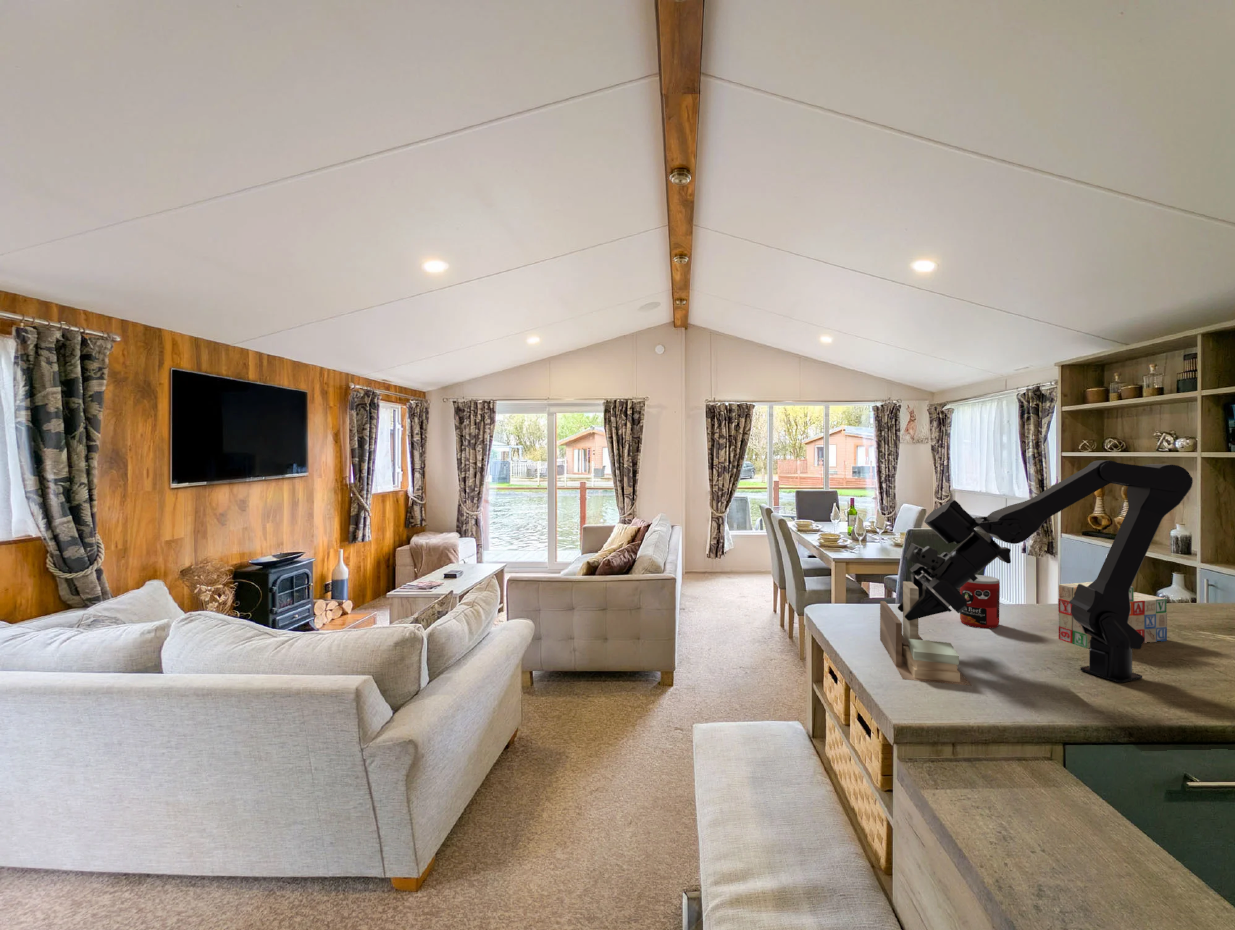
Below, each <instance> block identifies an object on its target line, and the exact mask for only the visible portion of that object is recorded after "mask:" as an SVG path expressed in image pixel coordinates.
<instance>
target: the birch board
mask: <svg viewBox="0 0 1235 930" xmlns="http://www.w3.org/2000/svg"><path fill="white" fill-rule="evenodd" d="M918 599H919V588H918V587H916V586H915V585H914V584H913V583H912V581H902V600H903V612H902V635H903V636H904V638H905V639H906V641H907V642H908V643H909V639H916V640H918V634H919V618H918V619H914V620H910V621H908V620H907V619H906V618H905V615H906V613H907V612H908V611H909V610H910V609H911V607H912V606H913V605H914V604H915V603H916V602H917V601H918Z"/></svg>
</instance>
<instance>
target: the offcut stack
mask: <svg viewBox="0 0 1235 930" xmlns="http://www.w3.org/2000/svg"><path fill="white" fill-rule="evenodd" d="M902 654H903V655H904V662H905V664H906V665H907V667H908V669H909V670H910V672H911V673H912V675H913V676H914V678H920V679H931V680H942V681H953V682H960V673H959V671H960V670H959V669H958V666H959V665H960V655H959V654H958V652H957V651H956V649H955V648H954V646H953V644H952V643H951V642H944V641H938V640H937V641H935V640H924V639H923V640H916V639H909V647H907V646H903V652H902ZM957 669H958V670H959V671H958V670H957Z"/></svg>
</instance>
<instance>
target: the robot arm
mask: <svg viewBox="0 0 1235 930" xmlns="http://www.w3.org/2000/svg"><path fill="white" fill-rule="evenodd" d="M1193 479H1194V478H1193V477H1192V476H1191V474H1190V472H1189V471H1188V470H1187V469H1185V467H1182V466H1180V465H1177V464H1163V463H1162V464H1160V463H1150V464H1149V463H1148V464H1143V465H1137V464H1136V465H1135V464H1130V463H1129V464H1128V463H1122V462H1117V461H1115V460H1110V459H1109V460H1108V459H1107V460H1103V459H1102V460H1101V459H1100V460H1094V461H1092V462H1090V463H1089V464H1088V465H1086V467H1084V468H1082V469H1080V470H1078V471H1077V472H1075V473H1073V474H1072V475H1069V476H1067V477H1066V478H1065V479H1062V480H1061V481H1059V482H1058V483H1056V484H1054V485H1053V486H1051V487H1049V488H1047V489H1046V490H1044V491H1042V492H1040V493H1038V494H1037V495H1035V496H1033V497H1031V498H1029V499H1027V500H1025V501H1021V502H1017V503H1015V504H1014V503H1013V504H1009V505H1008V506H1004V507H1002V508H999V509H997V510H995V511H992V512H990V513H989V514H988V515H987V516H979V517H978V516H975V517H974V516H973V517H972V515H971V514H970V513H968V512H967V511H966V510H965V509H964V508H963V507H962V506H961V504H960V502H958V501H957V500H955V499H949V501H948V502H946V503H944V504H942V505H941V506H939V507H937V508H935V509H933V510H932V511H931V512H930V513H929V514H928V515H927V516H926V517H925V519H924V523H925V524H926V525H927V526H928V527H929V528H930V529H931V531H934V532H935V533H936V534H937V535H938V536H939V537H940V539H942V540H943V541H944V542H945V543H946V544H951V543H954V544H956V545H957V544H958V545H957V546H956V547H955V548H954V549H952V551H951V552H948V551H946V552H945V551H943V552H942V553H941V554H940V555H939V553H938V549H936V548H933V547H931V546H929V545H926V546H925V547H922V546H920V545H917V544H915V543H913V542H911V544H910V545H909V547H908V549H907V551H906V553H905V555H904V558H906V559H907V560H908V561H910V562H912V563H914V565H913V566H911V568H909V570H910V572H911V573H910V578H911V579H910V580H911V582H912V583H913V584H914V585H915V586H916V587H918V588H919V599H918V601H917V602H916V603H915V604H914V605H913V606H912V607H911V609H910V610H909V611H908V612H907V613H906V615H905V618H906V619H907V620H908V621H910V620H914V619H918V620H919V619H920V618H921V619H922V618H926V617H929V616H932V615H933V616H934V615H937V614H942V613H948V612H949V613H950V612H952V610H954V611H955V612H956V613H957V614H960V612H961V611H962V610H963V609H965V608H966V607H967V599H966V598H965V597H963V596H962V595H961V594H960V588H961V587H962V586H963V585H964V584H966V583H967V582H968V581H969V580H972V581H973V582H974V581H975V580H976V579H978V578H977V577H976V576H975V575H979V573H980V572H981V571H983V569H985V568H986V567H987V566H988V565H990V564H991V563H992V562H993V561H994V560H996V559H998V560H1000V561H1001V562H1004V563H1006V564H1008V565H1009V564H1011V562H1012V560H1011V548H1009V547H1006V546H1004V547H1002V546H1001V545H999V544H998V543H997V542H996V541H995V540H994V539H996V540H999V541H1001V542H1004V543H1007V544H1012V545H1016V544H1020V543H1022V542H1023V543H1024V542H1025V541H1027V539H1029V538H1030V537H1031V536H1032V535H1033V534H1035V533H1036V532H1037V531H1039V530H1040V528H1041V527H1042V526H1043V524H1044V523H1045V522H1046V521H1047V520H1048V519H1050V518H1051V517H1052V516H1054V515H1056V514H1058V513H1060V512H1062V511H1063V510H1065V509H1066V508H1069V507H1070V506H1072V505H1074V504H1075V503H1077V502H1079V501H1081V500H1083V499H1085V498H1086V497H1088V496H1091V494H1094V493H1095V492H1097V491H1099V490H1101V489H1102V488H1104V487H1106V486H1108V485H1110V484H1114V485H1117V486H1118V485H1119V486H1125V487H1127V489H1126V496H1127V506H1128V507H1127V512H1126V513H1125V516H1124V518H1123V520H1122V521H1121V524H1120V526H1119V529H1118V530H1117V533H1116V535H1115V538H1114V540H1113V542H1112V544H1111V546H1110V549H1109V550H1108V553H1107V555H1106V557H1105V559H1104V562H1103V564H1102V566H1101V568H1100V571H1099V573H1098V575H1097V576H1096V578H1095V580H1094V581H1092V582H1093V583H1091V584H1090V585H1089V586H1087V587H1086V586H1084V585H1082V584H1078V586H1077V588H1076V592H1075V596H1074V597H1073V599H1072V600H1070V601H1069V603H1070V604H1072V607H1071V614H1072V615H1073V617H1074V619H1075V620H1076V621H1077V622H1078V623H1079V624H1081V626H1082V628H1083V631H1084V633H1086V634H1089V635H1090V636H1092V637H1091V640H1090V648H1089V653H1088V654H1089V659H1088V660H1089V662H1088V663H1089V664H1088V665H1086V666H1081V667H1080V671H1081V672H1085V673H1089V674H1091V675H1093V676H1098V677H1100V678H1104V679H1107V680H1110V681H1113V682H1116V683H1120V684H1121V683H1125V682H1131V681H1136V680H1140V679H1143V675H1142V674H1139V673H1136V672H1133V650H1141V648H1142V646H1143V644H1144V643H1143V642H1144V640H1145V638H1144V637H1143V636H1142V635H1141V634H1139V633H1138V632H1137V631H1136V630H1135V629H1134V628H1133V627H1131V626H1130V625H1129V624H1128V619H1129V615H1130V611H1131V607H1130V598H1129V590H1130V588H1131V587H1133V586H1132V585H1133V583H1134V581H1135V579H1136V578H1137V575H1138V573H1139V570H1140V568H1141V566H1142V563H1143V562H1144V560H1145V558H1146V555H1147V553H1148V551H1149V548H1150V547H1151V544H1152V542H1153V540H1154V537H1155V535H1156V534H1157V531H1158V529H1159V527H1160V525H1161V522H1162V520H1163V519H1164V517H1166V515H1168V514H1169V513H1170V512H1172V511H1173V510H1174V509H1175V508H1176V507H1178V506H1179V505H1180V504H1181V503H1182V501H1183V500H1184V499H1185V497H1186V496H1187V494H1188V493H1189V491H1190V490H1191V489H1192V487H1193V483H1194V480H1193ZM975 529H976V530H978V531H981V532H983V533H986V534H989V536H985V537H983V536H982V535H981V534H980V533H979V532H978V531H976V530H975ZM990 536H991V537H990ZM993 538H994V539H993ZM950 607H951V608H952V609H951V608H950ZM897 609H898V610H899V612H901V613H903V599H902V600H901V602H900V603H899V605H898V606H897Z"/></svg>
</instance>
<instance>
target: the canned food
mask: <svg viewBox="0 0 1235 930" xmlns="http://www.w3.org/2000/svg"><path fill="white" fill-rule="evenodd" d="M975 576H976V577H977V578H978V579H976V580H975V581H974V582H973V581H972V580H969V581H968V582H967V583H966V584H964V585H963V586H962V587H961V588H960V589H959V592H960V594H961V595H962V596H963V597H965V598H966V599H967V607H966V608H965V609H963V610H962V611H961V612H960V613H959V620H960V622H961V623H962V624H963V625H965V624H966V625H965V626H968V625H969V627H972V626H973V628H977V627H980V628H979V629H996V628H997V627H999V625H1000V597H1001V596H1000V595H1001V594H1000V591H1001V590H1000V589H1001V588H1000V585H1001V584H1000V579H999V578H997V577H995V576H990V575H983V574H982V575H981V574H976V575H975Z"/></svg>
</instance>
